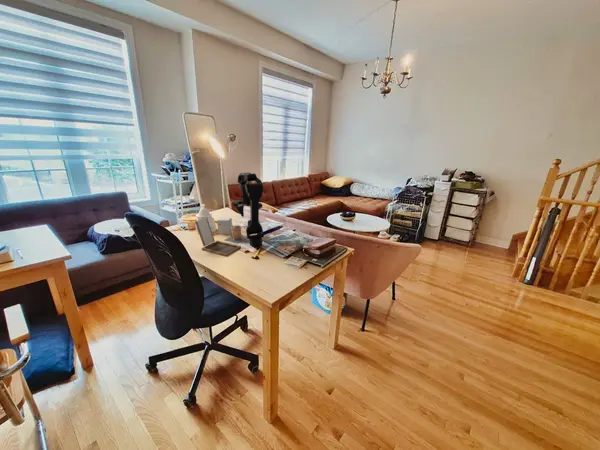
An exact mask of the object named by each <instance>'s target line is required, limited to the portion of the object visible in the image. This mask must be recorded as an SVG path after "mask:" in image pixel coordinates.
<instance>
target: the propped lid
mask: <svg viewBox="0 0 600 450" xmlns="http://www.w3.org/2000/svg"><path fill="white" fill-rule="evenodd" d="M194 222H195V225H196V226H197V229H198V232H199V234H198V235H199V237H200V240H201V244H202V247H205V246H207V245H209V244H211V243H213V242H216V241H215V238H214V235H213V233H212V231H211V228H210V225H209V222H208V219H207V217H206V218H203V219H201V220H198V221H194ZM196 226H195V227H196Z"/></svg>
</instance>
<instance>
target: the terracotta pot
mask: <svg viewBox="0 0 600 450" xmlns="http://www.w3.org/2000/svg"><path fill="white" fill-rule="evenodd" d="M231 230H232V234H231V236H232V239H233V240H240V239H241V238H242V236H241V235H242V225H232V227H231Z"/></svg>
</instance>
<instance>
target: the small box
mask: <svg viewBox="0 0 600 450" xmlns="http://www.w3.org/2000/svg"><path fill="white" fill-rule="evenodd" d="M216 226H217V231H218V235H232V230H231V227H232V226H233V218H232V217H218V219H217V220H216Z"/></svg>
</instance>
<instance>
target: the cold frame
mask: <svg viewBox="0 0 600 450" xmlns="http://www.w3.org/2000/svg"><path fill="white" fill-rule="evenodd" d="M203 218H204V217H202V219H203ZM239 249H241V245H238V244H235V243H234V244H232V243H231V242H230V243H228V242H225V241H221V240H216V241H215V242H212V243H210V244H208V245H206V246H202V247H201V250H202V251H204V252H209V253H213V254H215V255H219V256H222V257H228V256H229V255H231V254H233V253H235V252H236V251H238V250H239Z"/></svg>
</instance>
